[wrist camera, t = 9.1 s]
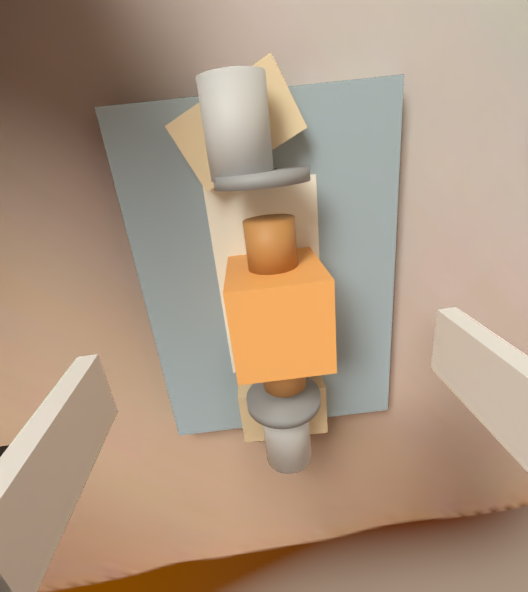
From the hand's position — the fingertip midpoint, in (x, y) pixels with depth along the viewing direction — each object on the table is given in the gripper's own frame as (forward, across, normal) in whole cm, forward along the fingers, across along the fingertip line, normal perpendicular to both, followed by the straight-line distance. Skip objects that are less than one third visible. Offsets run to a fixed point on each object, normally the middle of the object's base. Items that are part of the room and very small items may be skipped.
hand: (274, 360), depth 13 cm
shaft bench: (+10, +1, 0) cm, 10 cm away
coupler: (+9, +1, 0) cm, 9 cm away
